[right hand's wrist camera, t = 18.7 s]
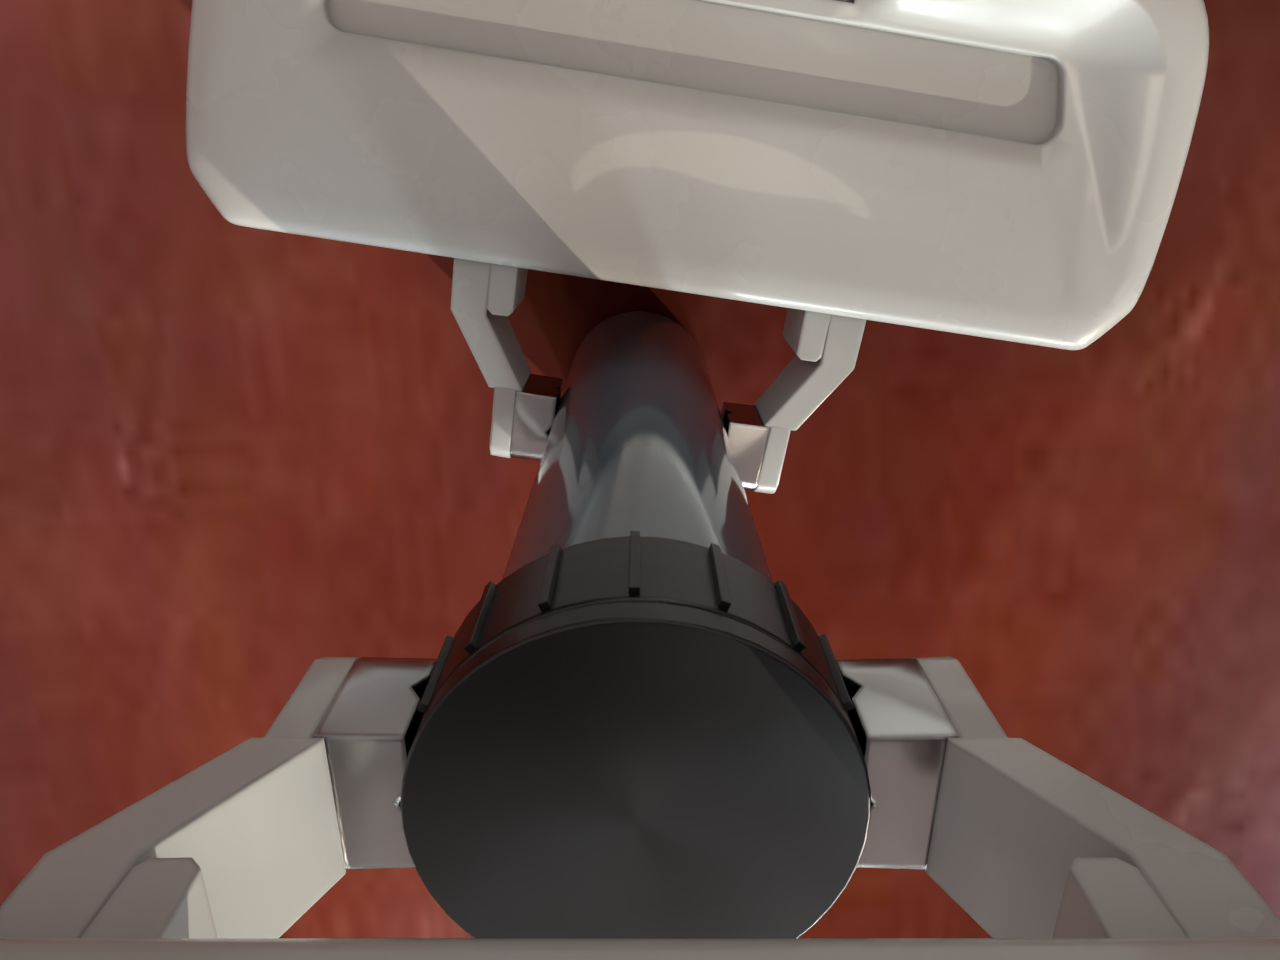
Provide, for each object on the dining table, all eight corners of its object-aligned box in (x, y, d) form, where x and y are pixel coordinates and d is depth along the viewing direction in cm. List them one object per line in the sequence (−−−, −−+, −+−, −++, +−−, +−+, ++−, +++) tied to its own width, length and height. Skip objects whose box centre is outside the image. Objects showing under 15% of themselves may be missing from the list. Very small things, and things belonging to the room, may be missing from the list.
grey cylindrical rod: (698, 301, 25) (814, 592, 8) (712, 433, 26) (833, 900, 10) (561, 320, 25) (408, 640, 9) (582, 449, 27) (488, 934, 10)
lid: (504, 466, 9) (473, 540, 7) (910, 607, 10) (970, 706, 8) (390, 801, 11) (341, 925, 9) (742, 903, 12) (761, 1037, 10)
